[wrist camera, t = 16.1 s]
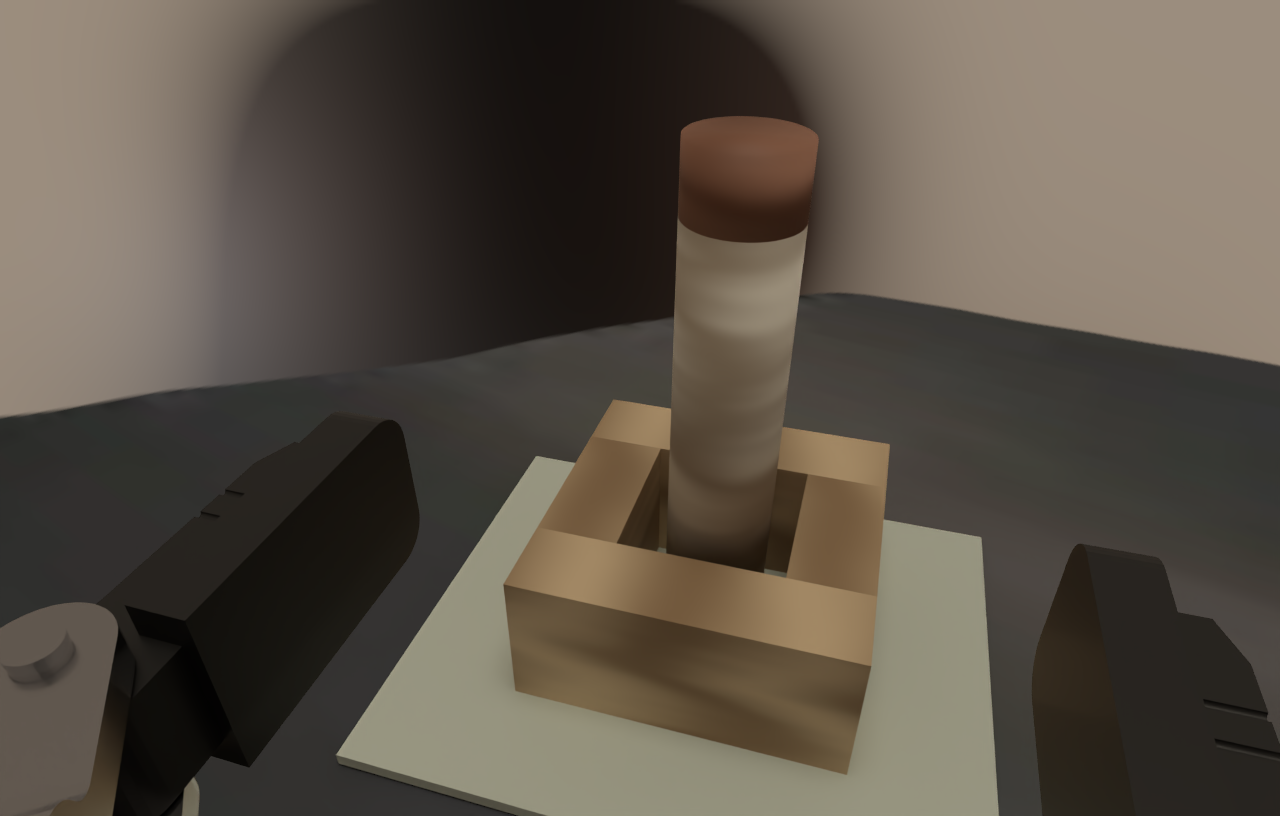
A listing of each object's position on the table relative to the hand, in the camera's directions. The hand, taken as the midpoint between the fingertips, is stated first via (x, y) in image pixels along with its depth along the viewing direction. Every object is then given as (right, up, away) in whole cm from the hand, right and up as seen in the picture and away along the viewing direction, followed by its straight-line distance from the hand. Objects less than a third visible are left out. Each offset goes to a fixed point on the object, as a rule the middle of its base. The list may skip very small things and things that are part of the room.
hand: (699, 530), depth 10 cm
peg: (+2, -5, +19) cm, 19 cm away
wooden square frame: (+2, -5, +19) cm, 20 cm away
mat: (+1, -6, +18) cm, 19 cm away
